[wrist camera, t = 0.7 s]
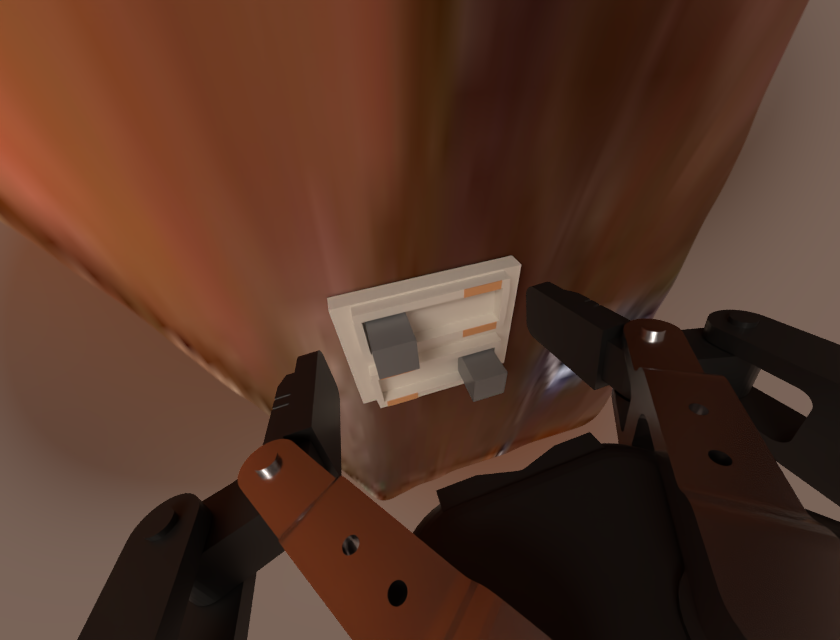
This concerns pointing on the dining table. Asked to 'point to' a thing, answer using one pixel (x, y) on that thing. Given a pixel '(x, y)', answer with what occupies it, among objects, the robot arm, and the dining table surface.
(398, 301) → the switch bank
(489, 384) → the tab
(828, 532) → the robot arm
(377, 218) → the dining table surface
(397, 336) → the tab
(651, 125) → the dining table surface
